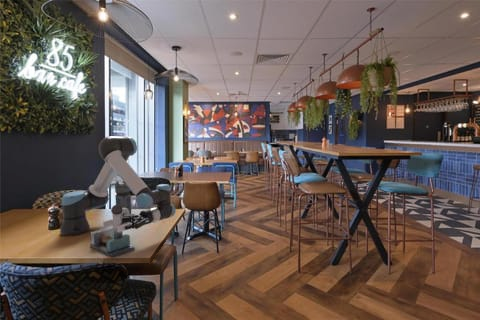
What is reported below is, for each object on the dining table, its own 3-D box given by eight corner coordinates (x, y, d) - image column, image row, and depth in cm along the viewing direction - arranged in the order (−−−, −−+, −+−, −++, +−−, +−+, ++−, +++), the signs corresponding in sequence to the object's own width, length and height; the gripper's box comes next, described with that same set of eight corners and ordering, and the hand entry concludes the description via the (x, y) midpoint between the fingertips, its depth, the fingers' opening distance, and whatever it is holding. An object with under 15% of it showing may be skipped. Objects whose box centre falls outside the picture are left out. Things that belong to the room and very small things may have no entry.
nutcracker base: (90, 246, 136) (89, 232, 135) (111, 240, 145) (110, 226, 144) (112, 257, 123) (111, 241, 122) (134, 249, 132) (133, 234, 131)
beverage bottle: (136, 212, 200) (135, 179, 198) (123, 217, 188) (121, 182, 186) (126, 211, 204) (124, 178, 202) (112, 215, 191) (110, 181, 189)
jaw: (105, 250, 127) (103, 206, 125) (125, 243, 135) (123, 202, 134) (111, 252, 124) (109, 207, 123) (131, 245, 132) (129, 203, 131)
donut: (119, 225, 170) (119, 210, 169) (115, 224, 171) (114, 209, 170) (131, 220, 179) (130, 206, 178) (127, 220, 180) (126, 205, 179)
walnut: (100, 243, 136) (99, 235, 136) (108, 240, 140) (108, 232, 139) (104, 245, 133) (104, 236, 133) (113, 242, 137) (112, 234, 137)
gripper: (164, 227, 137) (124, 240, 119) (136, 219, 151) (97, 229, 134) (163, 212, 136) (123, 223, 119) (136, 206, 150) (97, 215, 133)
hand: (110, 226), depth 126 cm, fingers open, 12 cm apart
